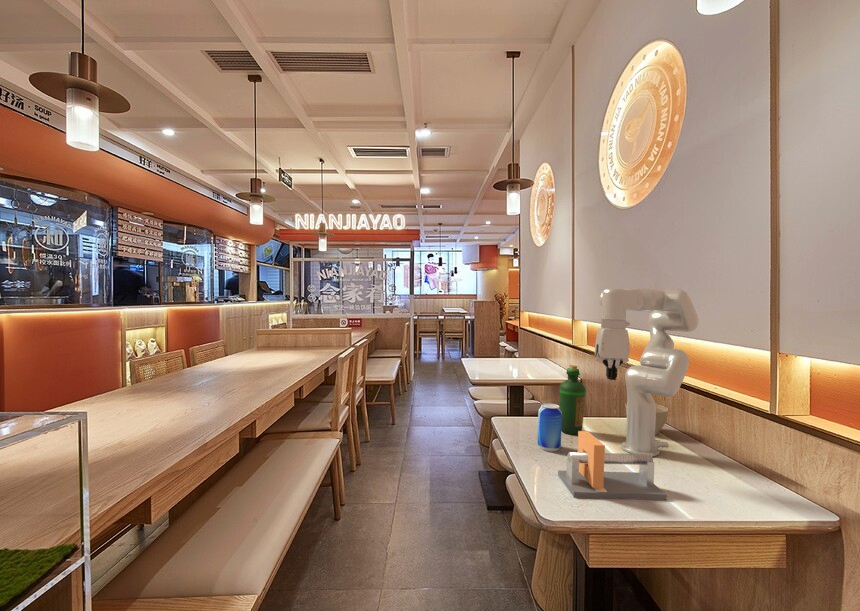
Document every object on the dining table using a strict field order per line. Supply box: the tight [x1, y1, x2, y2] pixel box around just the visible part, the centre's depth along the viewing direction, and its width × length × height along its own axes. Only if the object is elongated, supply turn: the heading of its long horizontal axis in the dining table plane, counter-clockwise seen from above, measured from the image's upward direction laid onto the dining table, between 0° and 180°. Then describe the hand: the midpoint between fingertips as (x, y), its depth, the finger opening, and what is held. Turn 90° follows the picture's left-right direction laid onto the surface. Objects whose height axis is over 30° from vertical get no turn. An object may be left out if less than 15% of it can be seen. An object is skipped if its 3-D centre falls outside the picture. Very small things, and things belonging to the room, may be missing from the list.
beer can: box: [537, 402, 562, 452], centre depth 148 cm, size 8×8×16 cm
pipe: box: [566, 451, 655, 486], centre depth 118 cm, size 24×4×9 cm, turn 90°
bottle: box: [559, 364, 587, 436], centre depth 167 cm, size 11×11×28 cm
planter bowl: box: [624, 402, 669, 436], centre depth 170 cm, size 16×16×11 cm
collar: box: [577, 430, 606, 488], centre depth 118 cm, size 3×12×12 cm, turn 0°
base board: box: [557, 469, 668, 500], centre depth 118 cm, size 26×14×2 cm, turn 90°
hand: (611, 379), depth 134 cm, fingers closed
